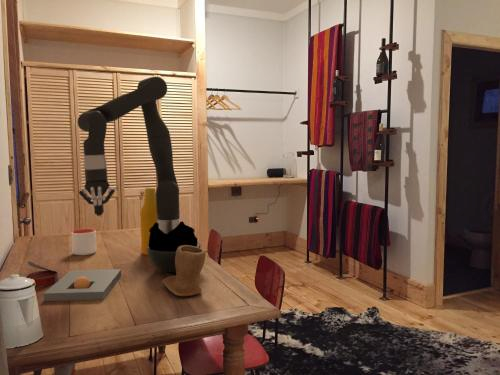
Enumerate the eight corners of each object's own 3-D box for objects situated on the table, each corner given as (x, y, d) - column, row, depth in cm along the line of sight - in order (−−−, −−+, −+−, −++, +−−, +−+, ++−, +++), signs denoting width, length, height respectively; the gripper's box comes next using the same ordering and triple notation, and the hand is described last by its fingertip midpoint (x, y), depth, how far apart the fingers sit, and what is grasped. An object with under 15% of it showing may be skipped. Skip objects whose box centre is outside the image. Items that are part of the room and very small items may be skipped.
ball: (87, 278, 136) (87, 293, 136) (92, 275, 141) (92, 289, 141) (71, 278, 136) (71, 293, 136) (76, 275, 141) (76, 290, 141)
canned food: (30, 294, 150) (28, 267, 153) (61, 287, 154) (58, 261, 157) (23, 289, 140) (21, 260, 143) (56, 282, 144) (53, 254, 147)
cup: (100, 250, 193) (99, 229, 192) (90, 256, 183) (89, 233, 182) (79, 250, 194) (78, 228, 193) (68, 255, 184) (67, 233, 183)
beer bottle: (164, 254, 186) (162, 188, 183) (142, 256, 183) (140, 189, 180) (160, 249, 195) (159, 186, 192) (140, 251, 191) (138, 187, 188)
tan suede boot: (211, 295, 136) (210, 249, 134) (175, 301, 130) (174, 253, 129) (195, 281, 149) (194, 239, 147) (161, 286, 144) (160, 243, 142)
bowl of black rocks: (211, 268, 164) (210, 220, 163) (177, 283, 147) (176, 229, 145) (171, 261, 175) (170, 216, 173) (136, 274, 157) (134, 224, 156)
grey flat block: (121, 275, 156) (121, 269, 155) (103, 299, 132) (103, 291, 132) (71, 277, 154) (70, 270, 154) (44, 301, 131) (43, 293, 130)
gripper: (116, 166, 156) (119, 212, 158) (79, 168, 155) (83, 214, 157) (112, 167, 149) (115, 216, 151) (73, 169, 147) (77, 218, 149)
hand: (99, 215), depth 154 cm, fingers closed
